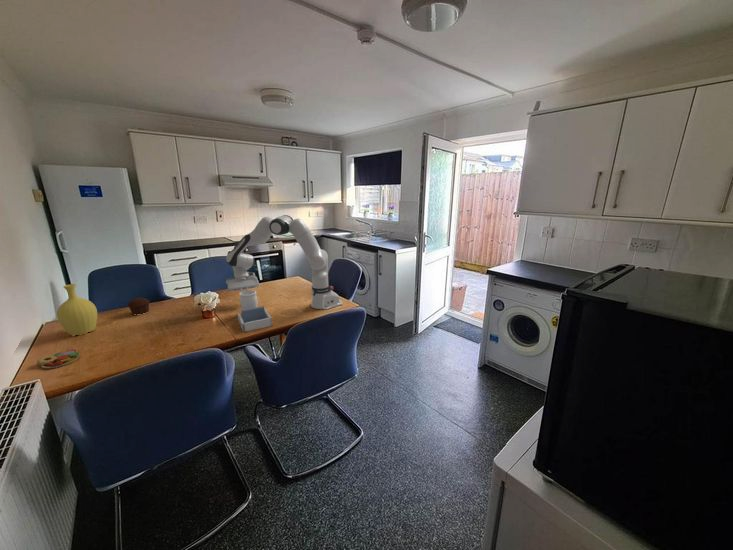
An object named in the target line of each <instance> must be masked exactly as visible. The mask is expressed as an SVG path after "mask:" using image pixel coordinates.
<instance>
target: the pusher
mask: <svg viewBox="0 0 733 550" xmlns="http://www.w3.org/2000/svg"><path fill="white" fill-rule="evenodd" d="M264 308H265V306H264V305H263V306H257V307H256V308H250V309H245V310H242V309H240V312H241V313H240V315H241V317H242V319H243V322H244V323H246V322H251V321H256V320H261V319H265V310H264Z"/></svg>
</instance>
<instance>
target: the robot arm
mask: <svg viewBox="0 0 733 550" xmlns="http://www.w3.org/2000/svg"><path fill="white" fill-rule="evenodd" d="M288 233H289V234H291V235H292V236H293V237H294V240H296V242H297V244H299V246H300V248H301V249H302V251H303V253H304V255H305V257H306V259H307V262H309V265H310V267H311V295H312V296H311V304H310V306H311V308H313V309H318V310H324V311H325V310H329V309H333V308H335V307H336V308H337V307H339V306H342V305H343V304H344V302H343V300H341V299H340V296H339V294H337V293H336V292H335V291H333V290H334V286H333V285H329V255H328V252H327V251H326V250H325V249H321V247H320V245H319V243H318V240H317V239H316V237H315V236H314V233H312V231H311V230H310V228H309V227H308V226H307V224H306V223H305V222H304V221H303V220H302V219H300V218H295V219H293V217H291V215H288V214H284V215H280V216H277V217H275V218H274V219H273V218H272V217H269V216H263V217H262V218H261V219H260V220H259V221H258V222H257V224H256V226H255V227H254V229H253V230H252V231H251V232H249V233H247V234H245V235H244V236H242V238H241V239H240V240H239V241H238V243H237V244H236V245H235V246H234V247H233V249H232V250H231V251H229V252H228V253H227V254H226V257H225V262H226V263H227V265H229V267H232V270H233V275H234V277H231V278H227V279H226V281H225V283H226V285H227V291H228V292H236V291H240V292H243V291H244V290H245V291H247V290H250V289H254V288H255V289H256V288H259V286H260V282H259V280H258V277H257V276H256V274H255V272H250V271H248V270H250V269H251V268H253V267H254V265H255V262H256V261H255V257H254V256H253V255H252V254H248V253H243V252H244V251H245V249H246V248H247V247H250V246H257V245H258V246H259V245H264V244H265V243H267V242H268V241H269V240H270V238H271V236H272V235H274V236H275V235H276V236H282V235H286V234H288Z"/></svg>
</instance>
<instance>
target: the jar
mask: <svg viewBox="0 0 733 550" xmlns="http://www.w3.org/2000/svg"><path fill="white" fill-rule="evenodd" d="M238 294H239V304H240V307H241V310H245V309H250V308H256V307H258V296H257V291H256V290H252V289H248V290H247V291H246V290H243V292H241V291H240V292H239V293H238Z"/></svg>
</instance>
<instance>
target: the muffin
mask: <svg viewBox="0 0 733 550" xmlns="http://www.w3.org/2000/svg"><path fill="white" fill-rule="evenodd" d="M150 302H151V301H150V300H149V299H148V298H145V297H137V298H133V299H130V301H129V303H127V307H128V308H129V309H130V312H131V314H132V315H133V314H136V315H137V314H143V313H146V312H148V311H149V312H150ZM149 312H148V313H149ZM146 314H147V313H146ZM143 315H144V314H143Z"/></svg>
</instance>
